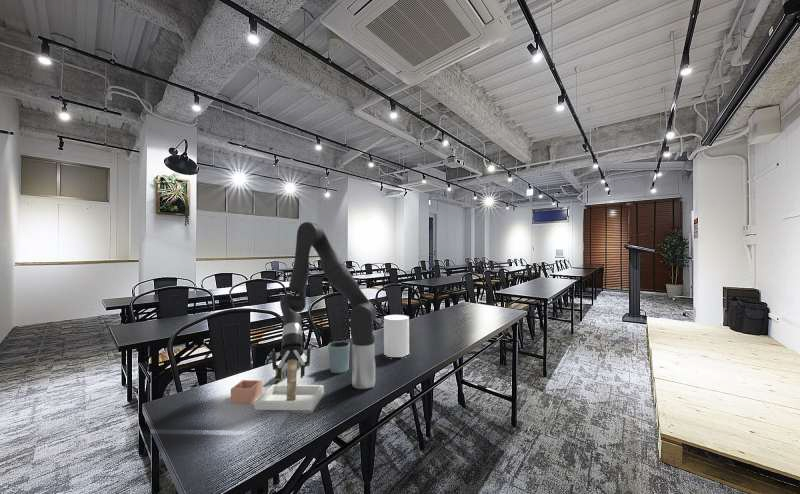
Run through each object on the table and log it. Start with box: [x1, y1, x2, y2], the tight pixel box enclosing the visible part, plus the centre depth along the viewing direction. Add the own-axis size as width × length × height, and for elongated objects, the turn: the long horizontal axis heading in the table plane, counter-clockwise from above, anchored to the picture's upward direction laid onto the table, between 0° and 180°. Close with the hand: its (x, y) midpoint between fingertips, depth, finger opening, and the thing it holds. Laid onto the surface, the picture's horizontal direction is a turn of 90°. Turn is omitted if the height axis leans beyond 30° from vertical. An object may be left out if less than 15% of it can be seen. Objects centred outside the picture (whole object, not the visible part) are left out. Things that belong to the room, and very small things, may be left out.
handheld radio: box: [268, 362, 301, 389], centre depth 132 cm, size 7×3×25 cm
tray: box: [253, 383, 325, 414], centre depth 110 cm, size 20×14×4 cm
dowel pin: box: [286, 359, 298, 401], centre depth 110 cm, size 3×3×14 cm
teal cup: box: [327, 340, 351, 374], centre depth 141 cm, size 10×10×12 cm
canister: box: [383, 314, 410, 357], centre depth 163 cm, size 14×14×20 cm
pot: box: [230, 379, 263, 404], centre depth 111 cm, size 8×8×6 cm
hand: (291, 378), depth 108 cm, fingers open, 6 cm apart
